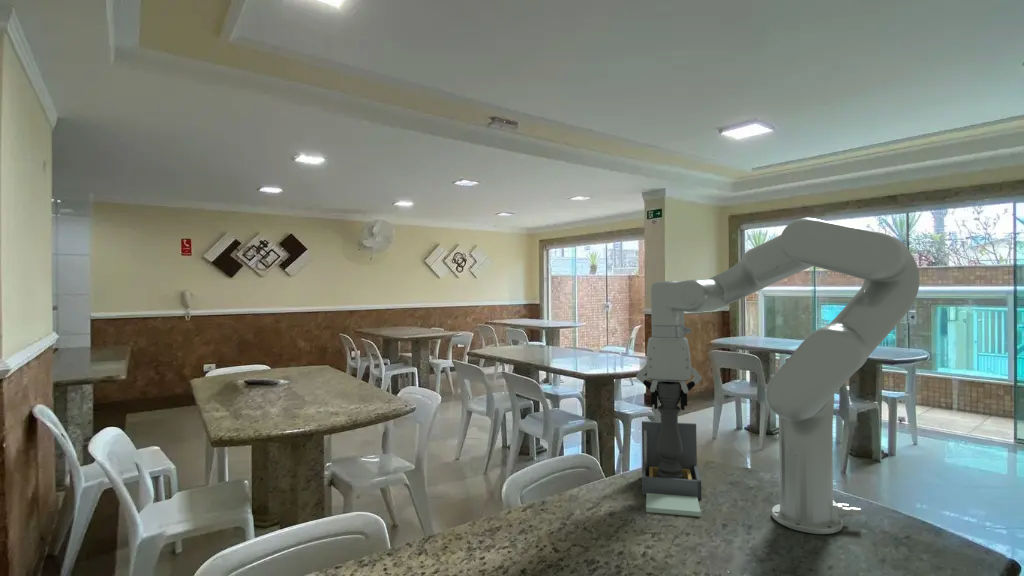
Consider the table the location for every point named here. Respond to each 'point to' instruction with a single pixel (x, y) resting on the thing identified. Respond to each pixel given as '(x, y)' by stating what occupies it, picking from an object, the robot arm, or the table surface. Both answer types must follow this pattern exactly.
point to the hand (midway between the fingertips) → (669, 407)
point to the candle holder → (669, 430)
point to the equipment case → (687, 461)
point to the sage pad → (672, 504)
